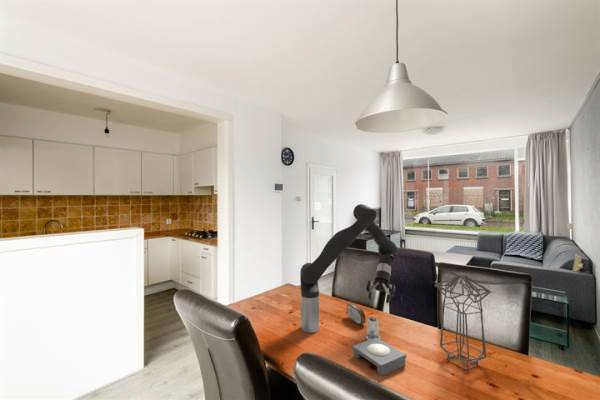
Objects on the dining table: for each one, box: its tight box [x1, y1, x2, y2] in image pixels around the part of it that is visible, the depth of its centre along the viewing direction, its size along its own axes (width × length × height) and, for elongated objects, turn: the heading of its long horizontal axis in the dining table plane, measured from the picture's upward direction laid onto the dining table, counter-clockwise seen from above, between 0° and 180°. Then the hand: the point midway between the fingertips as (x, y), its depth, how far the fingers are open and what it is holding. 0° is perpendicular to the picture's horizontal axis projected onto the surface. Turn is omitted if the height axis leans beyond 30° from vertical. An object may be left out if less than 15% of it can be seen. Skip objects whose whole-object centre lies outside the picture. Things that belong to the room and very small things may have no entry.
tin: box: [346, 302, 367, 325], centre depth 148 cm, size 15×3×8 cm, turn 22°
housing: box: [365, 316, 381, 341], centre depth 128 cm, size 7×7×10 cm
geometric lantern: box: [434, 274, 493, 371], centre depth 109 cm, size 16×16×35 cm
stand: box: [351, 338, 407, 377], centre depth 111 cm, size 16×14×4 cm
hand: (378, 301), depth 138 cm, fingers open, 8 cm apart
